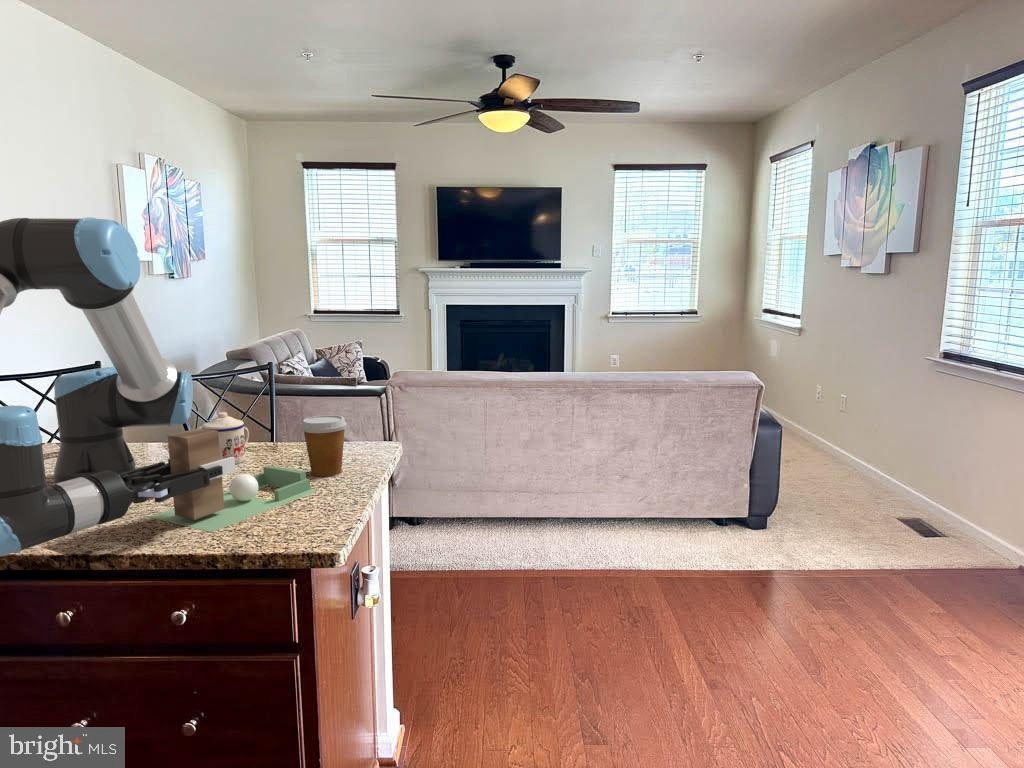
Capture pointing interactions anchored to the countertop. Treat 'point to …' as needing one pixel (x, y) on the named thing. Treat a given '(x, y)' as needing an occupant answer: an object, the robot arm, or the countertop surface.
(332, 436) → the disposable coffee cup
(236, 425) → the teacup with lid
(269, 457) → the countertop surface
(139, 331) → the robot arm
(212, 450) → the walnut block
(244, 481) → the ball
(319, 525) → the countertop surface
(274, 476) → the pad
